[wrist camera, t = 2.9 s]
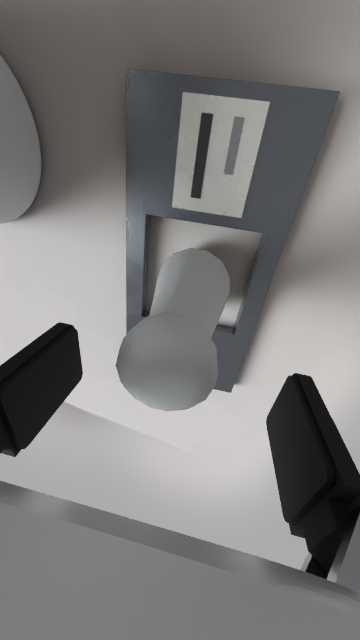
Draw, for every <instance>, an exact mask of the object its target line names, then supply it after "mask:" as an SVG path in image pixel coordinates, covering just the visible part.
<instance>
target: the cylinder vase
mask: <svg viewBox="0 0 360 640" xmlns="http://www.w3.org/2000/svg"><path fill="white" fill-rule="evenodd" d="M40 178H41V150H40V143H39V137H38V133H37V129H36V125H35V122H34V118H33V115H32V113H31V110H30V107H29V105H28V102H27V100H26V98H25V95H24V93H23V91H22V89H21V87H20V85H19V83H18V81H17V80H16V78H15V76H14V74H13V73H12V71H11V69H10V68H9V66H8V65H7V63H6V62H5V60H4V59H3V57H2V56H1V55H0V223H6V222H9V221H12V220H14V219H16V218H18V217H19V216H21V215H22V214H23V213H24V212H25V211H26V210H27V209H28V208H29V207H30V205H31V204H32V202H33V200H34V199H35V196H36V194H37V191H38V188H39V184H40Z"/></svg>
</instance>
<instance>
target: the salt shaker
mask: <svg viewBox="0 0 360 640" xmlns="http://www.w3.org/2000/svg"><path fill="white" fill-rule="evenodd" d="M229 294H230V276H229V274H228V272H227V270H226V268H225V266H224V264H223V262H222V261H221V260H220V259H219V258H217V257H216V256H214V255H213V254H211V253H210V252H209V251H206V250H200V249H194V248H189V249H186V250H183V251H180V252H177V253H174V254H173V255H172V256H171V257H170V258H169V259H168V260H167V261H166V262H165V263H164V264H163V265H162V267H161V270H160V273H159V277H158V280H157V284H156V289H155V294H154V298H153V302H152V306H151V310H150V314H149V317H146V318H144V319H142V320H141V321H140V322H139V323H138V324H137V325H135V326H134V327H133V328H132V329H131V330H130V331H129V332H128V333H127V335H126V336H125V337H124V338H123V341H122V344H121V347H120V350H119V354H118V358H117V362H116V368H117V371H118V374H119V377H120V381H121V383H122V384H123V386H124V387H125V388H126V389H127V390H128V392H129V393H130V394H131V395H132V396H133V397H134V398H135V399H137V400H138V401H140V402H142V403H144V404H145V405H147V406H149V407H151V408H156V409H161V410H165V411H174V410H185V409H188V408H191V407H193V406H195V405H196V404H198V403H200V402H202V401H204V400H206V398H207V397H208V395H209V394H210V392H211V391H212V389H213V388H214V386H215V384H216V380H217V376H218V366H217V349H216V346H215V344H214V342H213V341H212V339H211V337H212V335H213V332H214V330H215V328H216V325H217V323H218V320H219V318H220V316H221V313H222V311H223V309H224V306H225V304H226V301H227V299H228V297H229Z"/></svg>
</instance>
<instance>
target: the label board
mask: <svg viewBox="0 0 360 640" xmlns="http://www.w3.org/2000/svg"><path fill="white" fill-rule="evenodd" d="M339 92H340V91H330V90H321V89H311V88H302V87H293V86H283V85H274V84H264V83H255V82H245V81H236V80H227V79H217V78H208V77H198V76H189V75H179V74H170V73H161V72H151V71H142V70H132V69H126V289H127V333H128V332H129V331H130V330H131V329H132V328H133V327H134V326H135V325H137V324H138V323H139V322H140V321H141V320H142V319H144V318H146V317H149V314H150V312H149V311H145V304H146V284H147V263H148V243H149V222H150V215H153V216H159V217H166V218H172V219H178V220H185V221H191V222H197V223H203V224H210V225H216V226H222V227H228V228H235V229H241V230H247V231H254V232H260V233H263V234H262V237H261V241H260V244H259V247H258V250H257V254H256V257H255V260H254V264H253V267H252V270H251V273H250V277H249V280H248V283H247V287H246V290H245V293H244V296H243V300H242V303H241V306H240V310H239V313H238V316H237V319H236V323H235V326H234V328H231V327H226V326H221V325H216V328H215V330H214V332H213V335H212V337H211V339H212V341H213V342H214V344H215V346H216V349H217V366H218V376H217V380H216V384H215V386H214V388H213V389H216V390H221V391H226V392H230V393H231V391H232V388H233V385H234V382H235V380H236V377H237V374H238V371H239V369H240V366H241V363H242V360H243V358H244V355H245V352H246V349H247V347H248V344H249V341H250V338H251V335H252V333H253V330H254V327H255V324H256V322H257V319H258V316H259V313H260V311H261V308H262V305H263V302H264V300H265V297H266V294H267V291H268V289H269V286H270V283H271V280H272V277H273V275H274V272H275V269H276V266H277V264H278V261H279V258H280V255H281V253H282V250H283V247H284V244H285V242H286V239H287V236H288V233H289V230H290V228H291V225H292V222H293V219H294V217H295V214H296V211H297V208H298V206H299V203H300V200H301V197H302V195H303V192H304V189H305V186H306V184H307V181H308V178H309V175H310V172H311V170H312V167H313V164H314V161H315V159H316V156H317V153H318V150H319V148H320V145H321V142H322V139H323V137H324V134H325V131H326V128H327V126H328V123H329V120H330V117H331V114H332V112H333V109H334V106H335V103H336V101H337V98H338V95H339Z"/></svg>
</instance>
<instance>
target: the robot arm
mask: <svg viewBox="0 0 360 640" xmlns="http://www.w3.org/2000/svg"><path fill="white" fill-rule="evenodd" d="M82 374H83V372H82V364H81V356H80V348H79V341H78V333H77V330H76V329H75V328H74V326H73V325H69V324H65V323H57V324H56V325H55V326H53V327H52V328H50V329H49V330H48V331H46V332H45V333H44V334H42V335H41V336H40V337H38V338H37V339H36V340H34V341H33V342H32V343H30V344H29V345H28V346H26V347H25V348H23V349H22V350H21V351H19V352H18V353H17V354H15V355H14V356H13V357H11V358H10V359H9V360H7V361H6V362H5V363H3V364H2V365H1V366H0V453H1V452H2V453H3V454H6V455H10V456H13V457H16V455H17V454H18V453H19V452H20V450H21V449H25V448H26V447H27V446H28V445H29V444H30V443H31V442H32V440H33V439H34V438H35V437H36V435H37V434H38V433H39V432H40V430H41V429H42V428H43V427H44V425H45V424H46V423H47V422H48V420H49V419H50V418H51V417H52V415H53V414H54V412H56V410H57V409H58V408H59V406H60V405H61V404H62V403H63V401H64V400H65V399H66V398H67V396H68V395H69V394H70V393H71V391H72V390H73V389H74V388H75V386H76V385H77V384H78V383H79V381H80V380H81V378H82ZM266 424H267V431H268V436H269V441H270V447H271V452H272V458H273V463H274V468H275V474H276V479H277V485H278V490H279V495H280V501H281V506H282V512H283V516H284V519H285V521H286V522H287V523H289V526H290V530H291V534H292V535H295V536H298V537H302V538H305V540H306V543H307V548H308V551H309V553H308V555H307V557H306V559H305V562H304V564H303V566H302V568H301V570H298V569H295V568H291V567H288V566H285V565H282V564H279V563H276V562H273V561H269V560H267V559H263V558H260V557H257V556H254V555H250V554H248V553H244V552H241V551H237V550H234V549H231V548H227V547H224V546H221V545H217V544H214V543H211V542H207V541H204V540H201V539H197V538H194V537H190V536H187V535H184V534H181V533H177V532H174V531H170V530H167V529H164V528H160V527H157V526H153V525H150V524H147V523H143V522H140V521H137V520H133V519H129V518H126V517H123V516H119V515H116V514H113V513H109V512H106V511H102V510H99V509H96V508H92V507H89V506H85V505H82V504H78V503H75V502H71V501H68V500H65V499H61V498H58V497H54V496H51V495H47V494H44V493H40V492H37V491H33V490H30V489H26V488H23V487H19V486H16V485H13V484H9V483H6V482H2V481H0V640H360V474H359V472H358V470H357V468H356V466H355V464H354V462H353V460H352V458H351V456H350V454H349V452H348V450H347V448H346V446H345V444H344V442H343V439H342V438H341V436H340V433H339V431H338V429H337V427H336V425H335V423H334V421H333V419H332V418H331V416H330V414H329V412H328V410H327V408H326V406H325V404H324V402H323V400H322V398H321V396H320V394H319V391H318V389H317V388H316V386H315V383H314V381H313V379H312V378H311V377H310V376H306V375H302V374H297V373H294V374H293V375H292V376H288V378H287V379H286V381H285V383H284V385H283V387H282V389H281V391H280V393H279V395H278V397H277V399H276V401H275V403H274V405H273V407H272V409H271V410H270V412H269V414H268V416H267V422H266Z"/></svg>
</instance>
